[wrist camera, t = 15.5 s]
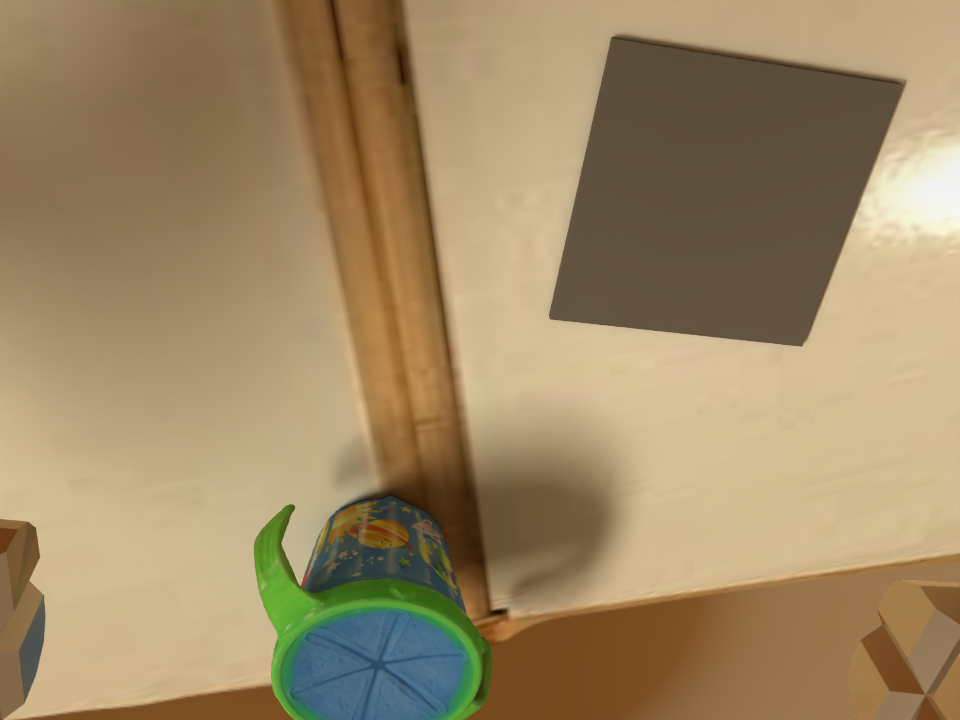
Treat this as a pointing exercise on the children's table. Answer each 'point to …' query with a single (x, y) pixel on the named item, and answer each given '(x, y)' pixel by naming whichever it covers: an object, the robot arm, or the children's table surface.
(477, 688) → the snack cup
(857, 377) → the children's table surface
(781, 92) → the mat
